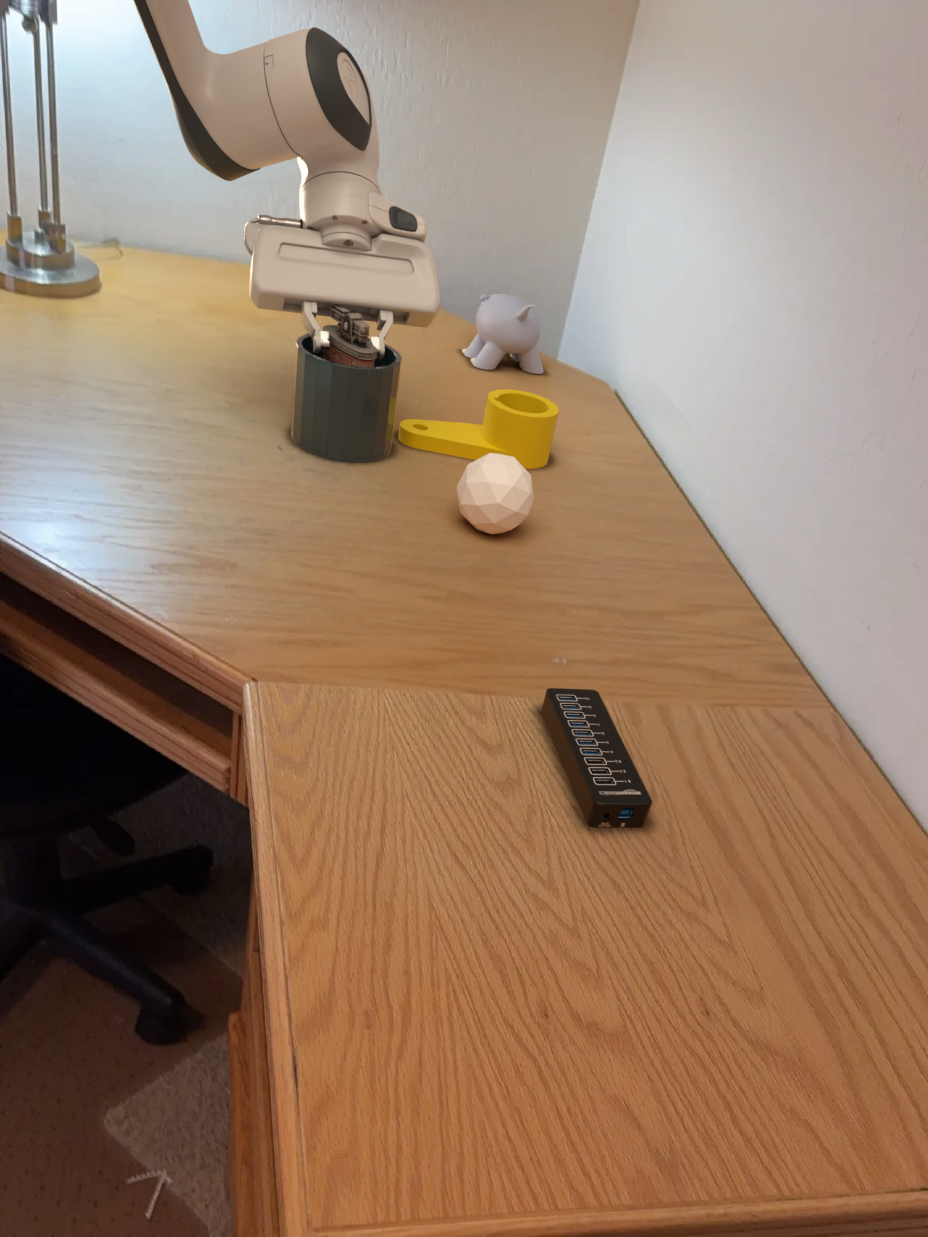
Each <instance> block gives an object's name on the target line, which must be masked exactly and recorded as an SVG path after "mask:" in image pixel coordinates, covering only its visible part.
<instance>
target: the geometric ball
mask: <svg viewBox="0 0 928 1237" xmlns="http://www.w3.org/2000/svg"><path fill="white" fill-rule="evenodd" d="M455 489H456V494H457V499H458V500H457V501H458V508H459V514H461V515H462V517H464V518H465V519H466V520H467V521H468V522H469V524H471V526H473V527H474V529H476V530H477V531H479V532H482V533H485V534H489V535H500V534H504V533H507V532H509V531H512V530H514V529H515V528H516V527H518V526H519V525H521V524H522V523H523V522H524V521H525V520H526V518H527V517H528V516H529V513H530V512H531V508H532V506H533V504H534V502H535V495H534V489H533V481H532V474H530V472H529V471H528V469H525V468H524V467H523V466H522V465H521V464H520V463H519V462H518V461H517V460H516V458H515V457H512V456H507V455H503V454H496V453H489V454H487V455H485V456H483V457H481V458H479V459H477V460H473V461H472V462H470V463H468V464H467V465H466V467H465V469H464V471H463V473H462V475H461V477H460V479H459V481H458V483H457V485H456V488H455Z"/></svg>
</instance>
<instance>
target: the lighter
mask: <svg viewBox="0 0 928 1237" xmlns="http://www.w3.org/2000/svg"><path fill="white" fill-rule="evenodd" d="M329 318H331V319H333V320H334V321H336V322H337V325H335V324H334V325H333V324H326V325H324V326H322V330H323V331H329V341H330V348H329V351H328V354H323V359H325V360H328V361H331V362H334V363H339V364H344V365H349V366H358V367H374V361H375V358H376V357H377V348H376V347H375V346H374V345H372V344H371V343H370V342H369V341H367V339H368V338H369V336H370V327H371V325H370V324H369V323H367V321H363V317H362V315H361V314H360V313H350V311H349V310H347V309H345V308H344V307H342V306H341V305H338V304H333V306H331V312H330V317H329Z"/></svg>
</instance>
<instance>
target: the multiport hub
mask: <svg viewBox="0 0 928 1237" xmlns="http://www.w3.org/2000/svg"><path fill="white" fill-rule="evenodd" d="M540 715H541V717H542V719H543V722H544V724H545V727H546V729H547V731H548V734H549V736H550V739H551V741H552V744H553V746H554V749H555V751H556V754H557V756H558V758H559V760H560V763H561V766H562V767H563V770H564V773H565V774H566V777H567V780H568V782H569V785H570V787H571V789H572V792H573V794H574V797H575V799H576V801H577V804H578V806H579V809H580V810H581V814H582V816H583V818H584V821H585V823H586V825H587V826H588V827H590V828H594V829H618V828H619V829H641V828H643V827H645V824H646V821H647V819H648V817H649V812H650V810H651V807H652V804H653V800H652V798H651V796H650V794H649V792H648V790H647V788H646V785H645V783H644V781H643V779H642V778H641V775H640V773H639V771H638V770H637V767H636V765H635V763H634V761H633V758H632V757H631V755H630V752H629V751H628V749H627V747H626V745H625V743H624V741H623V739H622V737H621V735H620V732H619V731H618V729H617V727H616V725H615V723H614V720H613V719H612V716H611V714H610V712H609V711H608V708H607V706H606V705H605V702H604V700H603V698H602V697H601V695H600V693H599V691H598V690H595V689H590V688H588V689H586V688H561V687H560V688H557V687H549V688H546V691H545V695H544V699H543V703H542V706H541V711H540Z"/></svg>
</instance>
